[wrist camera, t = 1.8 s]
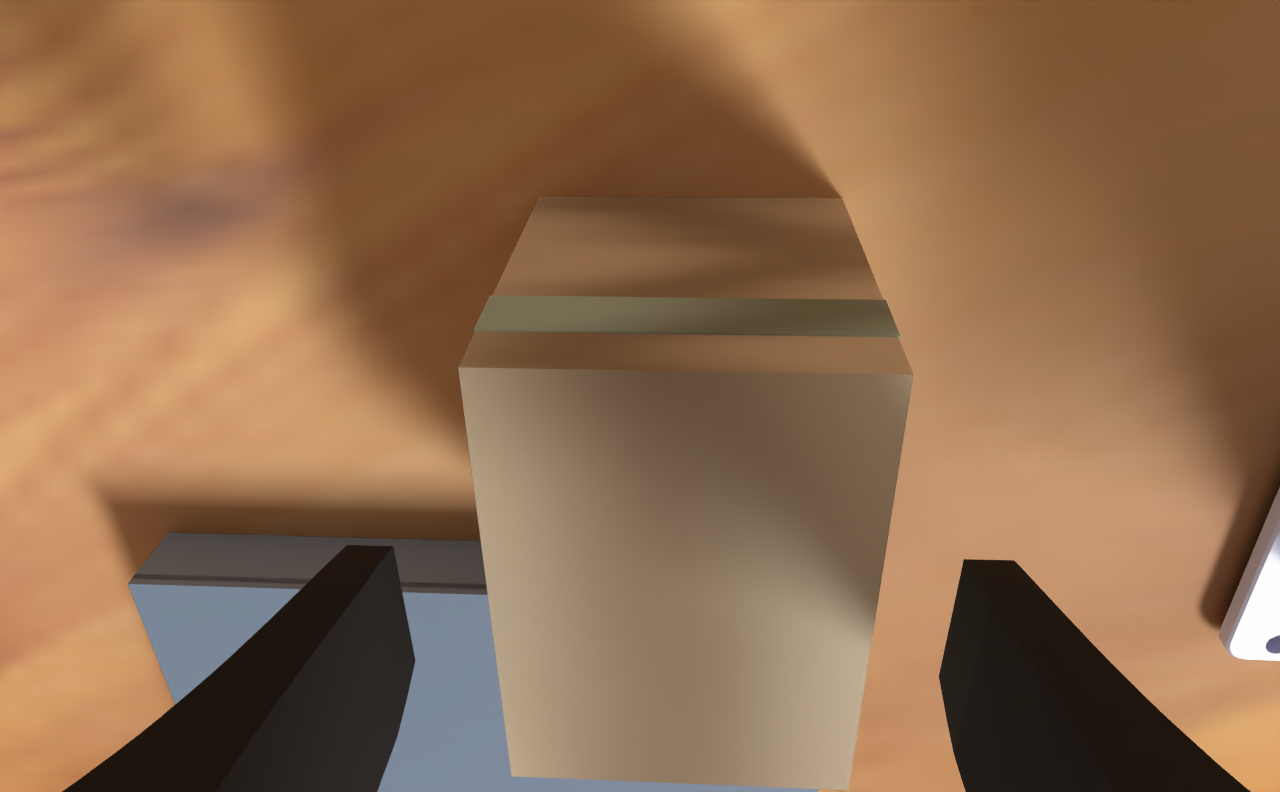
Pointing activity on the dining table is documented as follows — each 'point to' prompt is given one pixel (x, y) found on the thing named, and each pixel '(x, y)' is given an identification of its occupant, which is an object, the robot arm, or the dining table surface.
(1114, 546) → the dining table surface
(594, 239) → the tea box
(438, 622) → the book
